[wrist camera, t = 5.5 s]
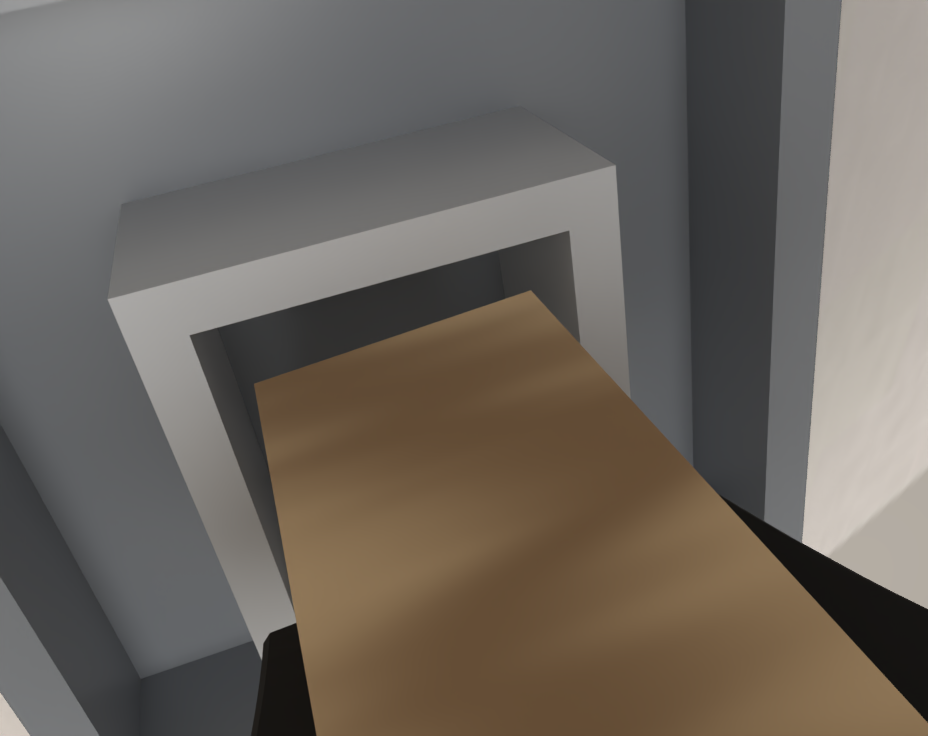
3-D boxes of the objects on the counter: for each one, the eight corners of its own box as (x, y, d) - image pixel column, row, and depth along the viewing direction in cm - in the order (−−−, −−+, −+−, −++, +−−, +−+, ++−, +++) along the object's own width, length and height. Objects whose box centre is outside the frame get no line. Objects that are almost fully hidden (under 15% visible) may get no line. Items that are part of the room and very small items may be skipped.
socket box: (703, -216, 15) (914, -258, 11) (707, 484, 23) (826, 614, 19) (-302, -30, 12) (-548, 11, 8) (114, 688, 20) (102, 891, 16)
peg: (531, 290, 12) (1153, 968, 4) (569, 501, 14) (1034, 1200, 7) (253, 383, 11) (426, 1346, 4) (338, 589, 13) (555, 1469, 6)
